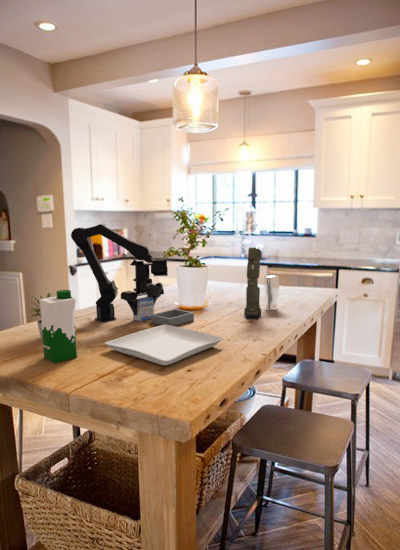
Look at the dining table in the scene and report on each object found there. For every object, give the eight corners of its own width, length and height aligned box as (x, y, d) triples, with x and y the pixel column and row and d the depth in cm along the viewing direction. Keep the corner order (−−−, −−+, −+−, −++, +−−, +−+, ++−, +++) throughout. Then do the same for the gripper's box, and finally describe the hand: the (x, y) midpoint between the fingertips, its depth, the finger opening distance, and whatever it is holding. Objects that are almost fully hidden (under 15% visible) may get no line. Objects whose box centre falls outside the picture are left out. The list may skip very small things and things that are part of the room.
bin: (169, 328, 153) (169, 319, 153) (150, 323, 160) (150, 314, 160) (193, 321, 163) (193, 312, 163) (175, 316, 170) (175, 308, 170)
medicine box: (140, 321, 163) (139, 300, 162) (132, 320, 166) (132, 299, 164) (154, 317, 169) (153, 297, 168) (146, 316, 172) (146, 296, 170)
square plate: (164, 333, 148) (164, 323, 147) (225, 348, 131) (225, 336, 130) (103, 352, 127) (103, 340, 126) (166, 373, 110) (166, 359, 109)
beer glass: (278, 307, 188) (278, 275, 185) (279, 310, 181) (280, 277, 179) (262, 307, 188) (263, 275, 186) (263, 310, 181) (264, 277, 179)
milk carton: (81, 357, 121) (78, 291, 119) (52, 365, 115) (48, 296, 112) (67, 350, 128) (64, 288, 125) (39, 357, 121) (35, 292, 118)
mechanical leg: (260, 319, 162) (262, 245, 164) (242, 318, 163) (244, 245, 166) (261, 319, 175) (263, 250, 178) (245, 318, 177) (247, 250, 179)
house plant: (26, 333, 147) (23, 289, 144) (66, 329, 151) (64, 286, 149) (24, 345, 133) (21, 296, 131) (68, 340, 138) (66, 293, 136)
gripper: (137, 280, 153) (138, 321, 155) (172, 275, 166) (173, 312, 169) (119, 278, 160) (120, 316, 162) (154, 273, 174) (155, 308, 176)
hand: (143, 313), depth 167 cm, fingers closed on medicine box, 8 cm apart
